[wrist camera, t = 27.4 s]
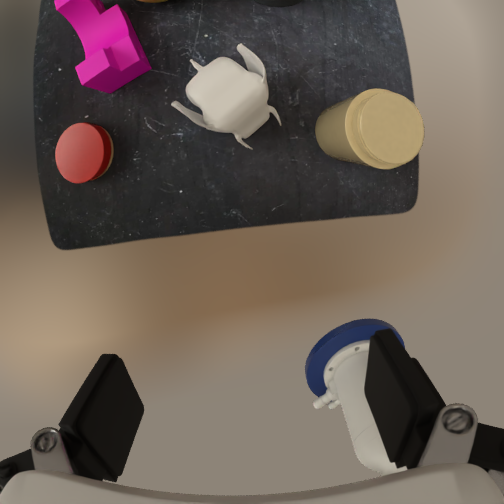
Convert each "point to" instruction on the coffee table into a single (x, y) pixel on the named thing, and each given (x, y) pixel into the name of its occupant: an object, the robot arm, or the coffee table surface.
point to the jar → (371, 129)
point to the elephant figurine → (230, 96)
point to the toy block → (105, 44)
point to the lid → (83, 152)
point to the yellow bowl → (153, 1)
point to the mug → (278, 2)
